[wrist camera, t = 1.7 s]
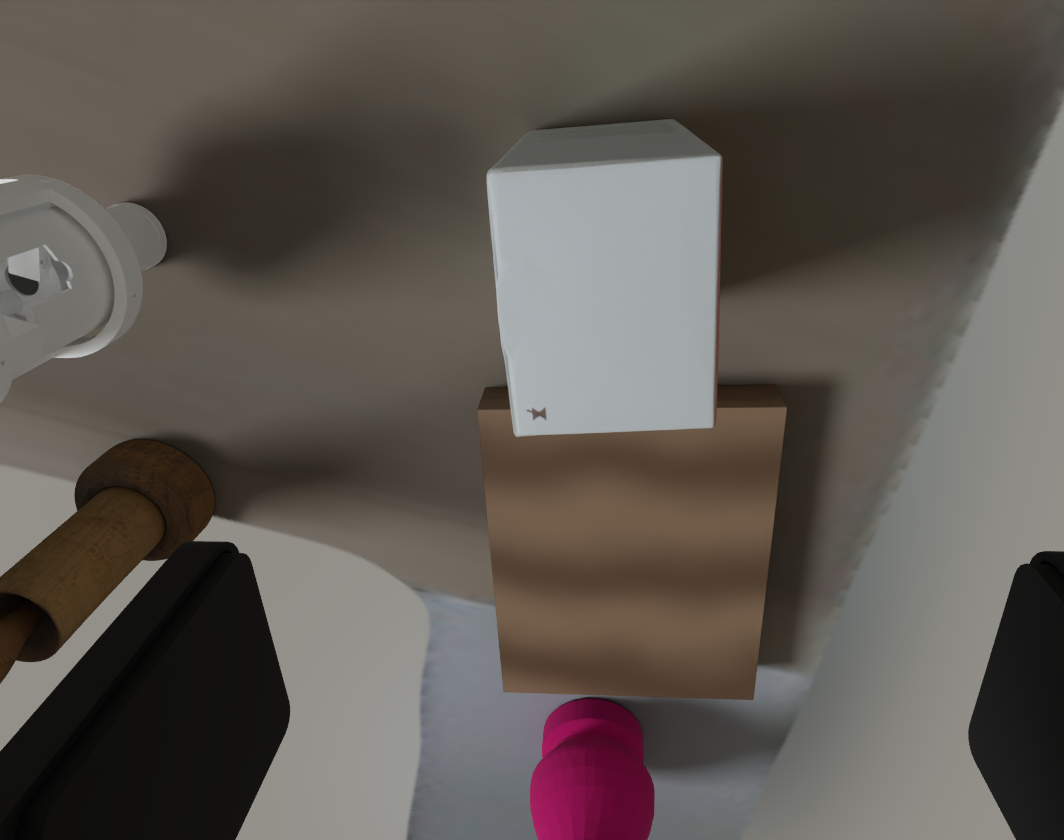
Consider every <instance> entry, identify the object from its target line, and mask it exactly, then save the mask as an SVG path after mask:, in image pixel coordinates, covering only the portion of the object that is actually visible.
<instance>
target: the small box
mask: <svg viewBox="0 0 1064 840" xmlns="http://www.w3.org/2000/svg"><path fill="white" fill-rule="evenodd" d="M722 174H723V157H722V156H721V155H720V154H719V153H718V152H716V151H715V150H714V149H713V148H711V147H710V146H709V145H707V144H706V143H705V142H704V141H702V140H701V139H699V138H698V137H697V136H696V135H694V134H693V133H692V132H690V131H689V130H688V129H687V128H685V127H684V126H683V125H681V124H680V123H679V122H677V121H676V120H674V119H664V120H652V121H641V122H629V123H617V124H605V125H593V126H581V127H568V128H556V129H543V130H532V131H529V132H528V133H526V134H525V135H524V136H523V137H522V138H521V139H520V140H519V141H518V142H517V143H516V144H515V145H514V146H513V147H512V148H511V149H510V150H509V151H508V152H507V153H506V154H505V155H504V156H503V157H502V158H501V159H500V160H499V161H498V162H497V163H496V164H495V165H494V166H493V167H492V168H490V169H489V171H488V173H487V193H488V205H489V217H490V228H491V239H492V248H493V259H494V271H495V282H496V292H497V309H498V320H499V328H500V337H501V345H502V350H503V354H504V360H505V366H506V375H507V382H508V391H509V400H510V408H511V415H512V423H513V431H514V434H515V436H516V437H521V436H535V435H556V434H583V433H609V432H630V431H653V430H677V429H696V428H713V427H715V425H716V415H717V383H718V351H719V304H720V265H721V219H722Z"/></svg>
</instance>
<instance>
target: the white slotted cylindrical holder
mask: <svg viewBox="0 0 1064 840" xmlns="http://www.w3.org/2000/svg"><path fill="white" fill-rule="evenodd" d="M166 249H167V238H166V234H165V231H164V229H163V227H162V225H161V223H160V222H159V220H158V219H157V218H156V217H155V216H154V215H153V214H152V213H151V212H150V211H149V210H147V209H146V208H144V207H142V206H140V205H138V204H134V203H128V202H125V203H119V204H116V205H112V206H110V207H107V208H103V207H102V206H101V205H100V204H99V203H97V202H96V201H95V200H94V199H92V198H91V197H90V196H88V195H87V194H85V193H84V192H82V191H80V190H79V189H77V188H75V187H73V186H71V185H69V184H67V183H65V182H62V181H60V180H57V179H53V178H50V177H45V176H39V175H18V176H12V177H7V178H2V179H0V404H1V403H2V401H3V400H4V398H5V397H6V395H7V393H8V391H9V389H10V386H11V383H12V380H13V379H15V378H17V377H19V376H20V375H22V374H24V373H26V372H28V371H29V370H31V369H33V368H35V367H37V366H39V365H40V364H42V363H44V362H46V361H48V360H50V359H51V358H53V357H57V358H76V357H82V356H86V355H89V354H92V353H94V352H96V351H98V350H100V349H102V348H103V347H105V346H107V345H108V344H110V343H112V342H114V341H115V340H117V339H118V338H120V337H121V336H122V335H124V334H125V333H126V332H127V331H128V330H129V328H130V327H131V326H132V324H133V323H134V321H135V319H136V317H137V315H138V313H139V310H140V306H141V301H142V276H141V271H143V270H146V269H148V268H151V267H153V266H155V265H157V264H158V263H159V262H160V261H161V260H162V259H163V257H164V255H165V253H166ZM107 322H108V323H107ZM105 323H107V325H106V326H105V328H104V329H103V330H102V331H101V332H100V333H99V334H98V335H96V336H92V337H84V338H80V337H82V336H84V335H85V334H87V333H89V332H91V331H93V330H95V329H97V328H98V327H100V326H102V325H104V324H105Z"/></svg>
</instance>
